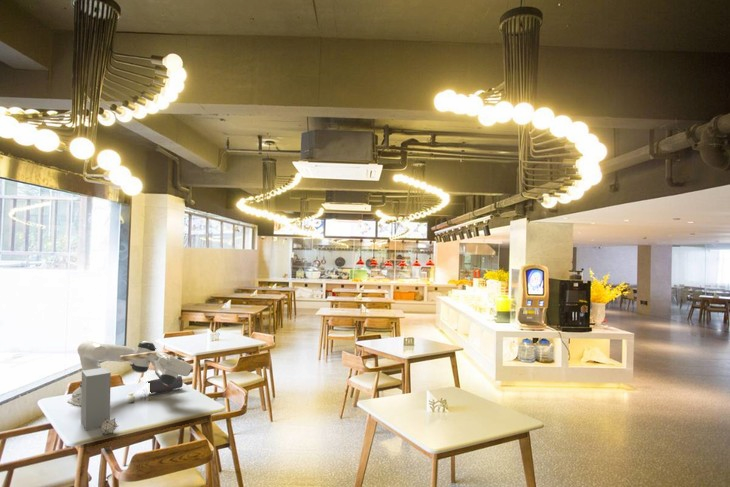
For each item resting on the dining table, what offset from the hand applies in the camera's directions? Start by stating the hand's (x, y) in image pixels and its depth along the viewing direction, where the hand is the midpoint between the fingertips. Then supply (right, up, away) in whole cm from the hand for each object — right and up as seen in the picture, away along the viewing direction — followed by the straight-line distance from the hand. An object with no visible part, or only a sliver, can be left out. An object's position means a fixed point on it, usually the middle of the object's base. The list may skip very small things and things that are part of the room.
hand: (148, 354), depth 281 cm
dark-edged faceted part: (-6, -36, -33) cm, 49 cm away
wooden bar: (-4, -2, -4) cm, 6 cm away
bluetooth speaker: (-8, -37, +41) cm, 56 cm away
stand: (-22, -36, -19) cm, 46 cm away
